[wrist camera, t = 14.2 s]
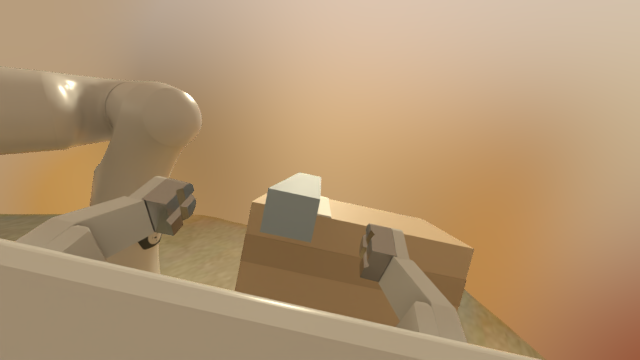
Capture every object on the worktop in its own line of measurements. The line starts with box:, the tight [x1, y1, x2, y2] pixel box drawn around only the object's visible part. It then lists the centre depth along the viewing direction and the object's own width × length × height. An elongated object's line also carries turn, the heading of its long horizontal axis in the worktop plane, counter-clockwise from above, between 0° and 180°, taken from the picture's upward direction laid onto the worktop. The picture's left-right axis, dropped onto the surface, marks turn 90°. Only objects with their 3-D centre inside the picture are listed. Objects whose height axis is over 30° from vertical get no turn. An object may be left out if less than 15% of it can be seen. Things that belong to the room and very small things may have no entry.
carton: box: [235, 193, 474, 327], centre depth 32 cm, size 24×13×26 cm, turn 90°
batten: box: [260, 173, 321, 243], centre depth 27 cm, size 4×22×3 cm, turn 0°
